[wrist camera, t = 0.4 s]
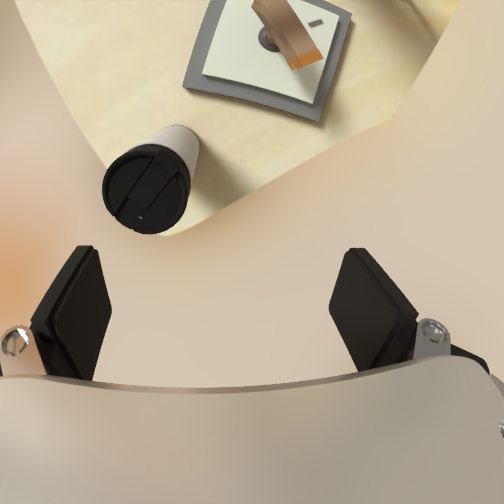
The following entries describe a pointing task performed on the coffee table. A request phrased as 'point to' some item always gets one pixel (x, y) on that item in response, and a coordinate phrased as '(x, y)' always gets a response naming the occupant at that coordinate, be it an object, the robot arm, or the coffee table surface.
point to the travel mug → (152, 180)
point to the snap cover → (266, 56)
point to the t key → (287, 32)
